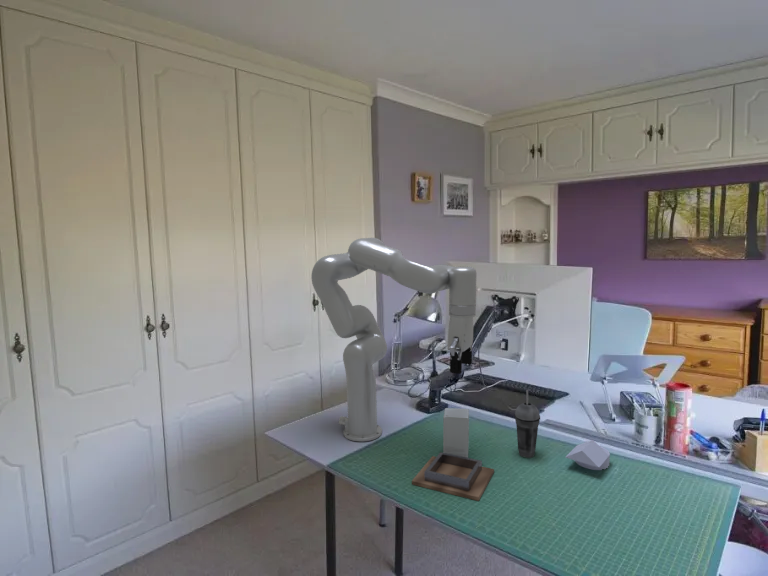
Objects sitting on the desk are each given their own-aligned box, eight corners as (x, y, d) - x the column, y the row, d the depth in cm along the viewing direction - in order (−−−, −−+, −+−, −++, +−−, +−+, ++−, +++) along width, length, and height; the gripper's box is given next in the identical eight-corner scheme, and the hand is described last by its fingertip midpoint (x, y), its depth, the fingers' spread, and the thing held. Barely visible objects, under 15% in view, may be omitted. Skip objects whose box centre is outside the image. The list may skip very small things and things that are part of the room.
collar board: (411, 484, 126) (411, 471, 125) (432, 459, 139) (432, 447, 139) (478, 501, 118) (478, 487, 117) (494, 472, 131) (494, 460, 130)
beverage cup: (541, 450, 143) (542, 386, 140) (537, 461, 136) (539, 394, 134) (516, 446, 146) (517, 383, 143) (511, 457, 139) (512, 391, 137)
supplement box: (468, 460, 138) (468, 418, 137) (442, 458, 140) (442, 416, 138) (469, 448, 145) (469, 408, 144) (444, 446, 147) (444, 407, 145)
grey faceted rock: (598, 479, 126) (613, 460, 136) (599, 455, 126) (614, 438, 135) (564, 468, 132) (581, 451, 142) (565, 445, 131) (581, 430, 141)
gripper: (459, 304, 145) (458, 358, 148) (439, 314, 130) (438, 375, 132) (483, 306, 142) (482, 362, 144) (465, 316, 127) (464, 379, 129)
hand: (461, 368), depth 138 cm, fingers open, 9 cm apart
